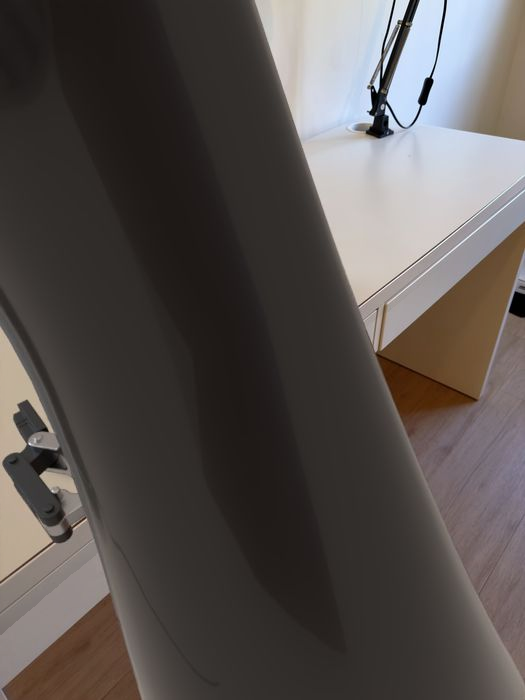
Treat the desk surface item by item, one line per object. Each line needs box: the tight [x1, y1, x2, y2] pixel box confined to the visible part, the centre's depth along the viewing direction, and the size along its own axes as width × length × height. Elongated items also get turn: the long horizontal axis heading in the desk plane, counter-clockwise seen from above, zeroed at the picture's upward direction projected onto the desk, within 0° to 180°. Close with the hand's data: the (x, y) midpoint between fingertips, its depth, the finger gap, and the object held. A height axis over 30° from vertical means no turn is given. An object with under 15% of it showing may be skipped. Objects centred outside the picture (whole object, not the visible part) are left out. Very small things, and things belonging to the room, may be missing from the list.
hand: (83, 382), depth 38 cm, fingers open, 8 cm apart
